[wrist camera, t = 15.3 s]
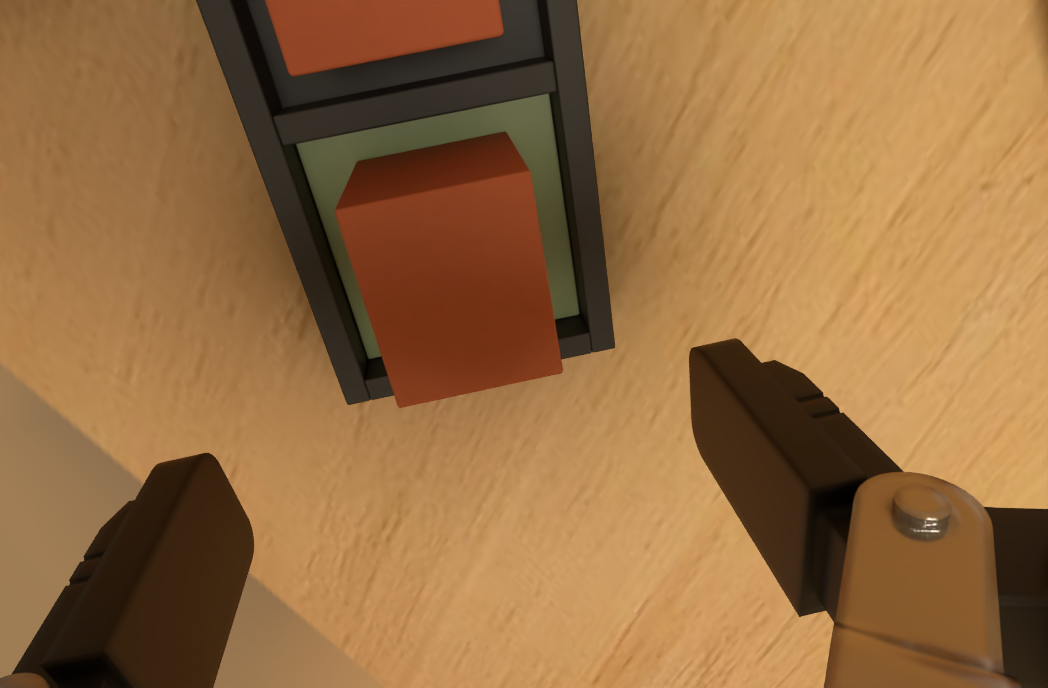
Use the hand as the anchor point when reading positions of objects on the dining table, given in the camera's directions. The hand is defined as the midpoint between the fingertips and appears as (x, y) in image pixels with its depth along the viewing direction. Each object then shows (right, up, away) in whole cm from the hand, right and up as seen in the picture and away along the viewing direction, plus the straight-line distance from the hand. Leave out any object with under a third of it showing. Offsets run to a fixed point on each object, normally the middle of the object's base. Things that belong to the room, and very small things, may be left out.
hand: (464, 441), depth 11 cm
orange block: (-1, +5, +9) cm, 11 cm away
